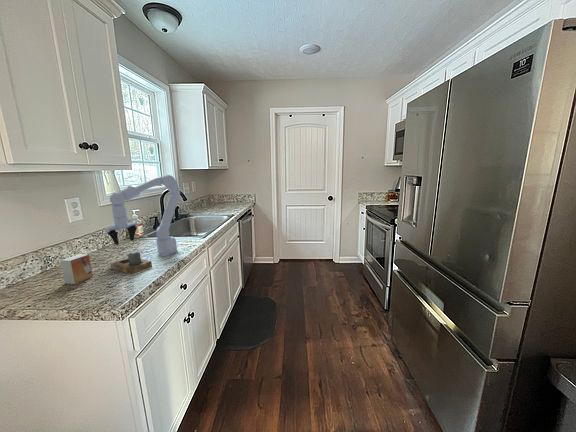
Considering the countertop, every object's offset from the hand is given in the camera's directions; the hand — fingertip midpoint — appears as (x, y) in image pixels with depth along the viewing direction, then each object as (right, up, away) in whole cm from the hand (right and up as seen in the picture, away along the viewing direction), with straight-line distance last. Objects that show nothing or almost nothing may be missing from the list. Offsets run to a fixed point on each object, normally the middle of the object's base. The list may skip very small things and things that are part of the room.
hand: (124, 242), depth 126 cm
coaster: (+3, -9, +3) cm, 10 cm away
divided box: (+10, -12, -9) cm, 18 cm away
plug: (+13, -11, -11) cm, 20 cm away
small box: (-6, -14, -20) cm, 26 cm away
